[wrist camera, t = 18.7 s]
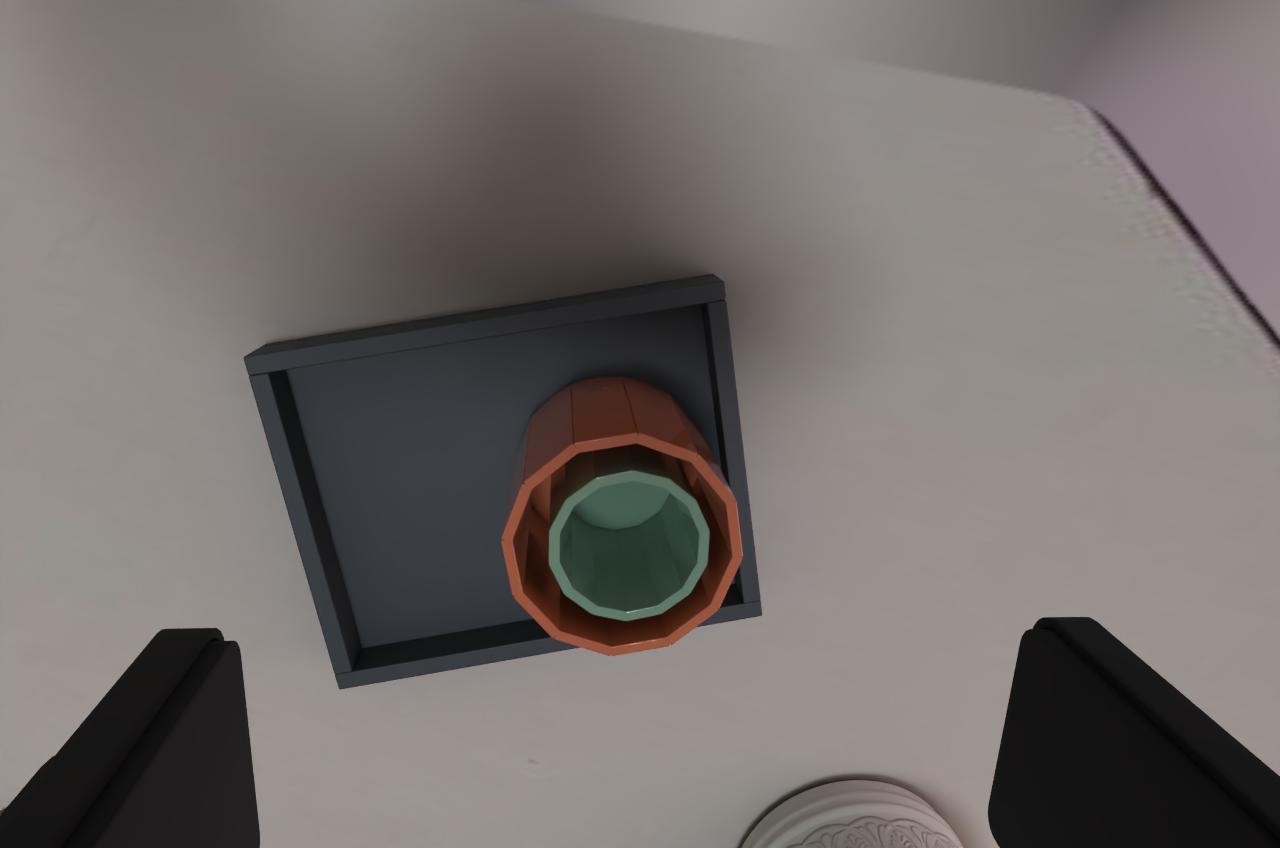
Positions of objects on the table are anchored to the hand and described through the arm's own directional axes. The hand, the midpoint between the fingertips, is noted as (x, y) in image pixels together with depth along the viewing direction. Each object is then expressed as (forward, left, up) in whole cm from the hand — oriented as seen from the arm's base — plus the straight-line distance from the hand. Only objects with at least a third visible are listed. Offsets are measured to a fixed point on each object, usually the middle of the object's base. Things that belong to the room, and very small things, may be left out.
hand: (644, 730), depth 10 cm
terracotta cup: (+7, 0, -28) cm, 29 cm away
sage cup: (+7, 0, -28) cm, 28 cm away
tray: (+7, -4, -29) cm, 30 cm away
